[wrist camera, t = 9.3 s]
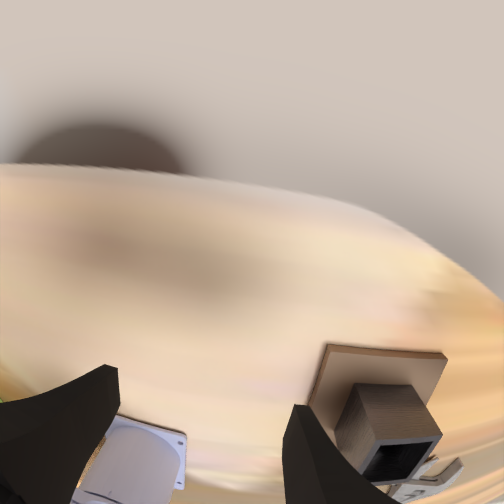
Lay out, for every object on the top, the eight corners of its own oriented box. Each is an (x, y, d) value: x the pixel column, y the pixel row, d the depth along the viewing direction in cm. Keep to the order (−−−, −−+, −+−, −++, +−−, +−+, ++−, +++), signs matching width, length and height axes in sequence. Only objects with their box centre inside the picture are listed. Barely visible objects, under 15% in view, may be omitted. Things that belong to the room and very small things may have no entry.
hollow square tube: (388, 431, 21) (408, 481, 15) (333, 430, 21) (346, 487, 15) (412, 384, 20) (443, 434, 14) (354, 382, 20) (376, 439, 14)
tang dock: (397, 442, 22) (407, 468, 19) (294, 441, 22) (296, 471, 19) (442, 353, 20) (463, 376, 17) (328, 344, 20) (337, 372, 17)
